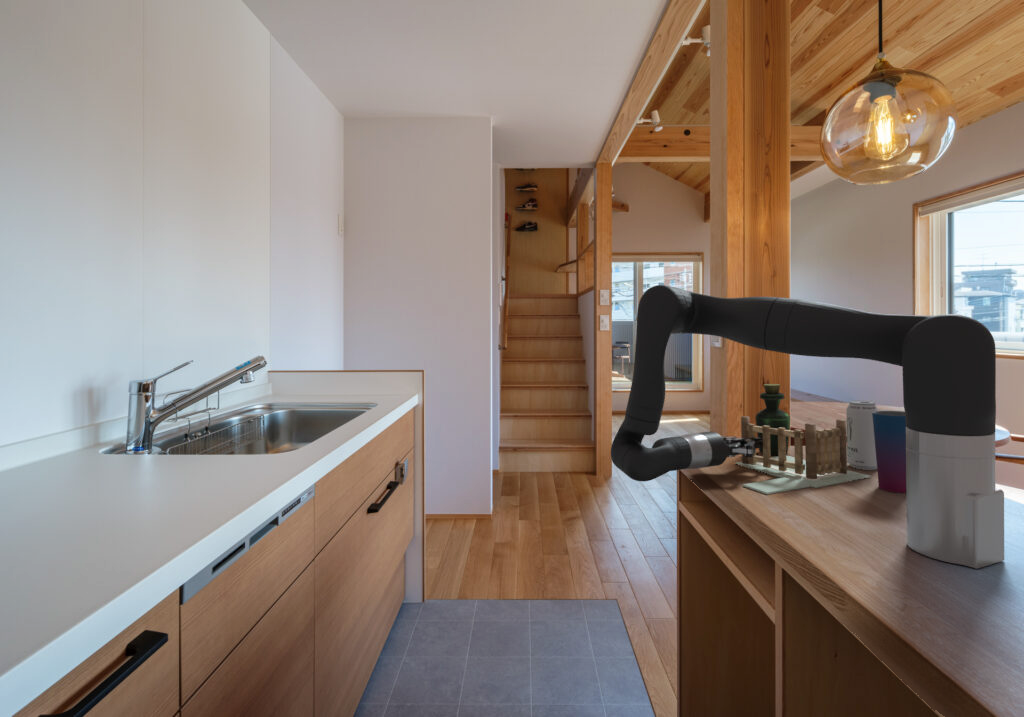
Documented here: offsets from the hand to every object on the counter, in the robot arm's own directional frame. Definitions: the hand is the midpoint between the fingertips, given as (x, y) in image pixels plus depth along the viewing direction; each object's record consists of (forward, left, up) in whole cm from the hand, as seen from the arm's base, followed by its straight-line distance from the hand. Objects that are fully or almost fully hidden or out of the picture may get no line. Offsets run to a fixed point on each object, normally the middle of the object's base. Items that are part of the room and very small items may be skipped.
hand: (760, 442), depth 111 cm
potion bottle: (+10, -15, -7) cm, 20 cm away
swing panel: (-2, -1, -5) cm, 6 cm away
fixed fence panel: (-11, -7, -6) cm, 14 cm away
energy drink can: (-9, -21, -7) cm, 24 cm away
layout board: (-4, -1, -6) cm, 8 cm away
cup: (-22, -11, -7) cm, 25 cm away
